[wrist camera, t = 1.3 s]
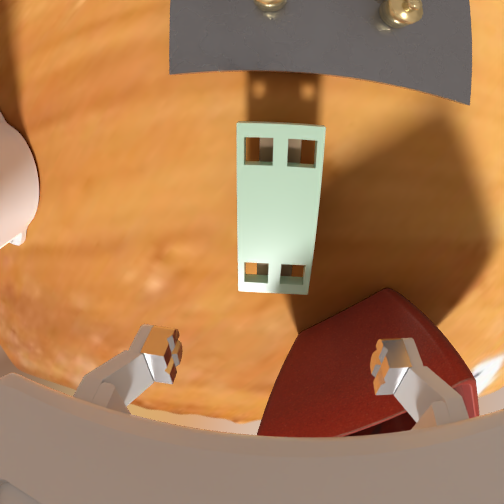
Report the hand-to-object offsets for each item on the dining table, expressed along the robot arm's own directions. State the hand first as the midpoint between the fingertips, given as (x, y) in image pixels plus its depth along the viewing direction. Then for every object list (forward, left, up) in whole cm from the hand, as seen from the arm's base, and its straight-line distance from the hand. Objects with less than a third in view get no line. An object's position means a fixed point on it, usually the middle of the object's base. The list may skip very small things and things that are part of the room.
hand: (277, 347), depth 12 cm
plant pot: (+12, -18, -18) cm, 28 cm away
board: (0, 0, -14) cm, 14 cm away
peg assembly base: (+4, +19, -18) cm, 26 cm away
